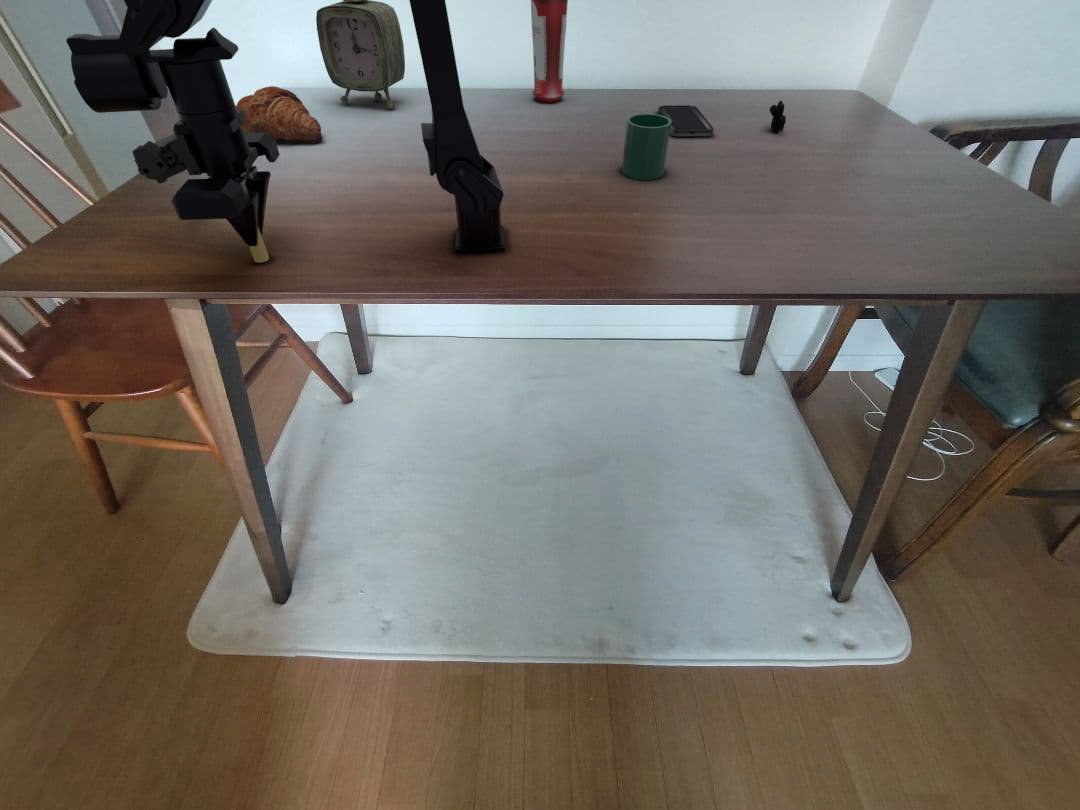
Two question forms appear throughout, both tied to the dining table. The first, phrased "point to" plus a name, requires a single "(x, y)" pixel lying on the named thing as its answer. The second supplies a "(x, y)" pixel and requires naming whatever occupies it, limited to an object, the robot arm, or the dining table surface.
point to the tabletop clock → (361, 46)
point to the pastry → (279, 116)
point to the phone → (686, 121)
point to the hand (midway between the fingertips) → (255, 241)
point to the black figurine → (777, 117)
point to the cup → (646, 146)
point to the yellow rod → (259, 250)
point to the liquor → (548, 48)
